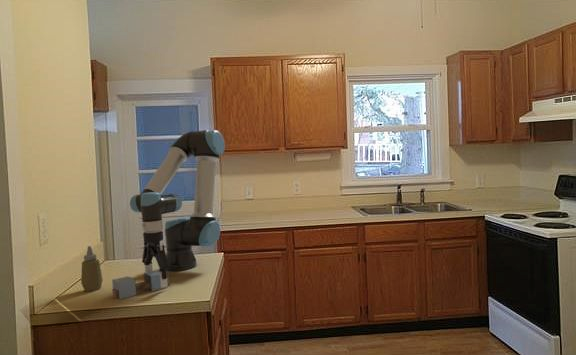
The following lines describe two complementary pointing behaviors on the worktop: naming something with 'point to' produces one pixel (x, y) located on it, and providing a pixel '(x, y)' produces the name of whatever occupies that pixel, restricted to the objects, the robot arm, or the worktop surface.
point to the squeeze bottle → (91, 272)
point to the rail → (138, 288)
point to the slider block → (125, 286)
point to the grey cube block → (153, 279)
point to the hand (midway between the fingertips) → (156, 283)
